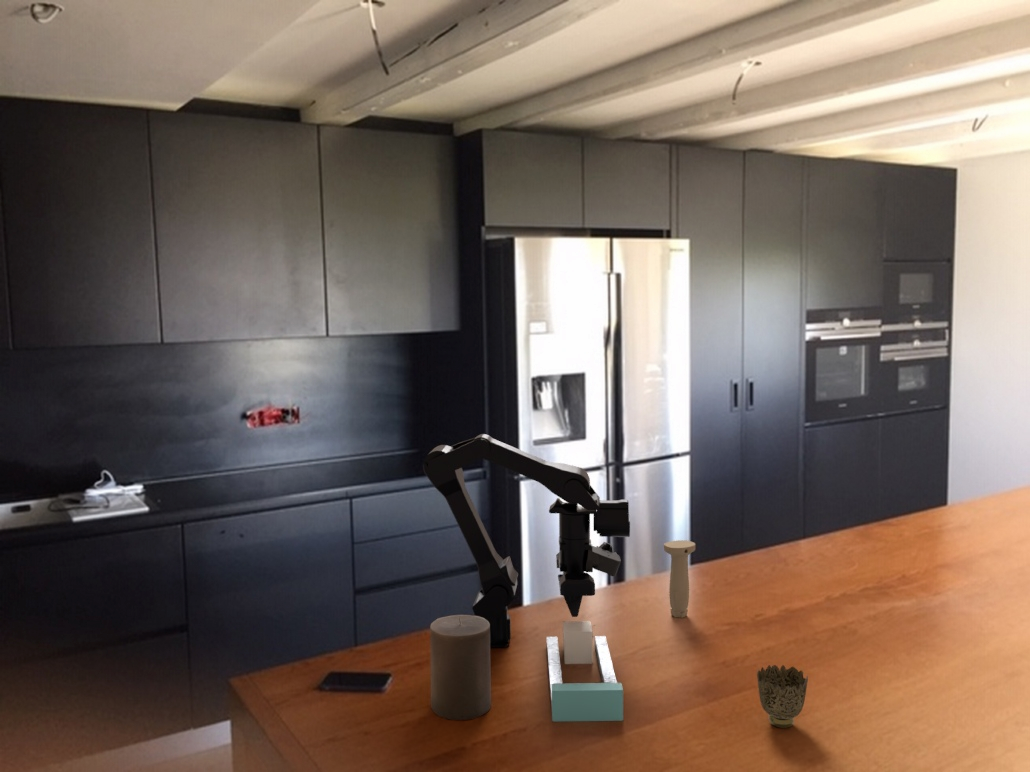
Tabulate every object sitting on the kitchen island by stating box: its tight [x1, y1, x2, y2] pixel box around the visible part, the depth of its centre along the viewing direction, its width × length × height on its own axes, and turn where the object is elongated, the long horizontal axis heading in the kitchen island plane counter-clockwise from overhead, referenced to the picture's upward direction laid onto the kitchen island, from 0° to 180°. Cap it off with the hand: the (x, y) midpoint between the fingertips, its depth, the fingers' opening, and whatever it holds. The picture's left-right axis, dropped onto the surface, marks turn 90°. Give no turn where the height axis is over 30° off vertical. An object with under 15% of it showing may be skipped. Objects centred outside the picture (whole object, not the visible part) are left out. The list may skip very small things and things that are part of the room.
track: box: [546, 635, 624, 722], centre depth 152 cm, size 11×28×5 cm, turn 0°
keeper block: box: [562, 620, 594, 665], centre depth 161 cm, size 5×5×6 cm
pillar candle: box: [429, 614, 492, 721], centre depth 143 cm, size 10×10×15 cm
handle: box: [663, 539, 696, 619], centre depth 180 cm, size 5×6×15 cm
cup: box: [756, 664, 809, 729], centre depth 136 cm, size 8×7×8 cm
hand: (574, 616), depth 167 cm, fingers closed
